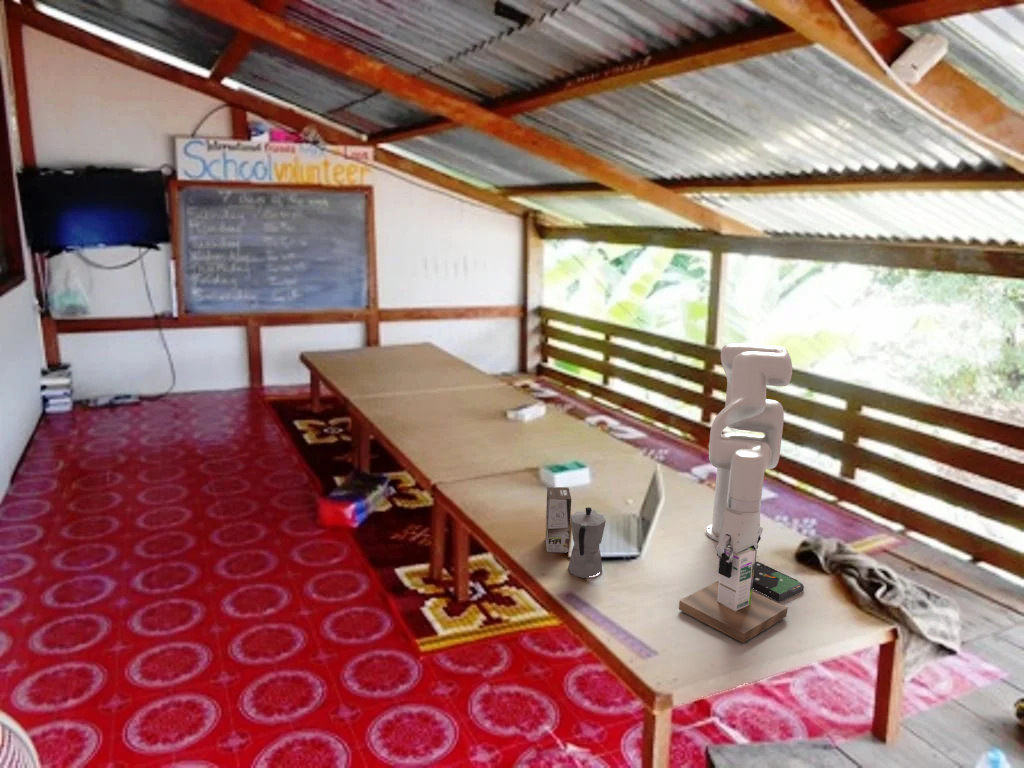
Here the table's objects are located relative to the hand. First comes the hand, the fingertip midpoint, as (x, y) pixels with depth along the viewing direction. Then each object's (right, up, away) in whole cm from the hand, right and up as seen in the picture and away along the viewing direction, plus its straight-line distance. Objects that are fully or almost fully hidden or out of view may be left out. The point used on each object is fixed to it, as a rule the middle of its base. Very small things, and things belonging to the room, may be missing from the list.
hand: (736, 569), depth 183 cm
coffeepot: (-34, -6, +22) cm, 41 cm away
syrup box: (0, -9, +2) cm, 9 cm away
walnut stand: (0, -12, +3) cm, 12 cm away
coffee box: (-41, -2, +37) cm, 55 cm away
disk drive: (+13, -9, +18) cm, 24 cm away
